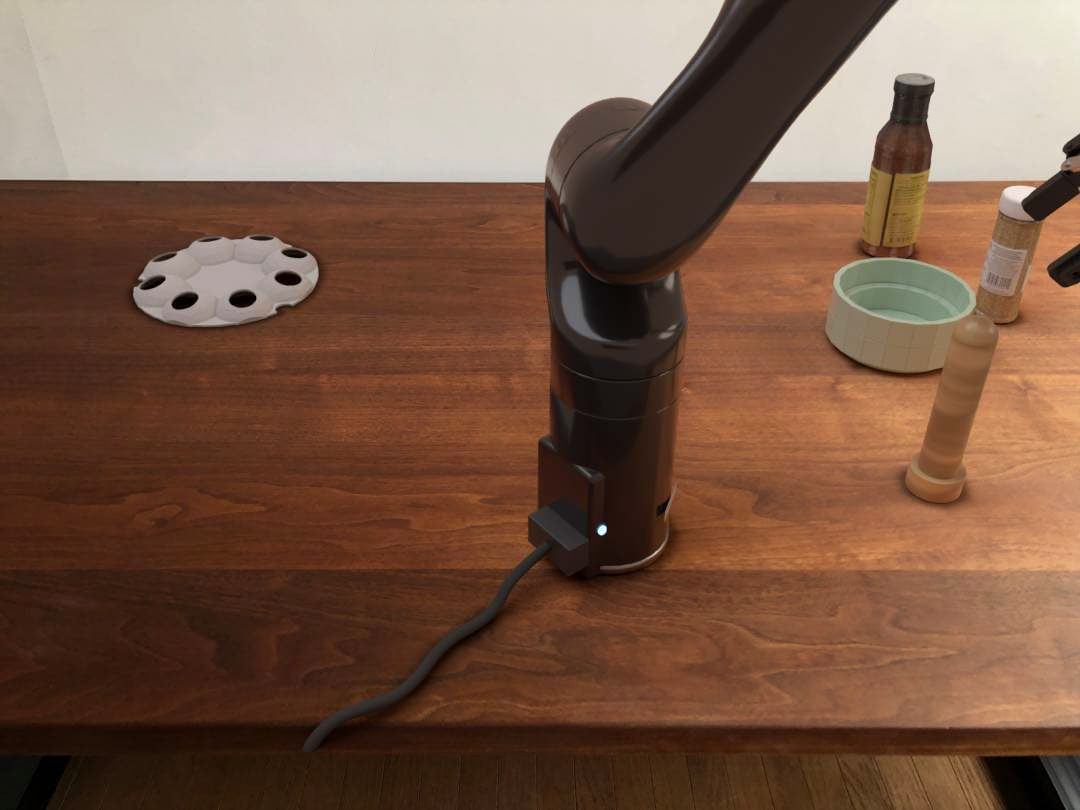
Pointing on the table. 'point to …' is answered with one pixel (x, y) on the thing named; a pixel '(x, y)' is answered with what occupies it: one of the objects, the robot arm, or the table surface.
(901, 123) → the sauce bottle
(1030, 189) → the sprinkles bottle
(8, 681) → the table surface
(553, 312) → the robot arm
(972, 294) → the bowl
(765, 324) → the table surface
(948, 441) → the pestle
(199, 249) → the paint palette
